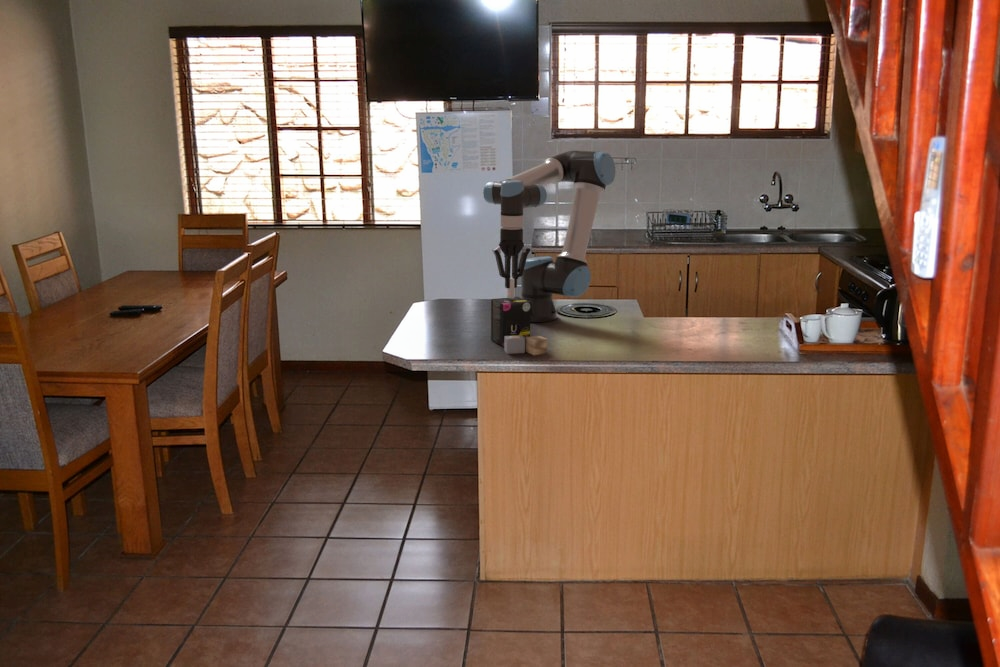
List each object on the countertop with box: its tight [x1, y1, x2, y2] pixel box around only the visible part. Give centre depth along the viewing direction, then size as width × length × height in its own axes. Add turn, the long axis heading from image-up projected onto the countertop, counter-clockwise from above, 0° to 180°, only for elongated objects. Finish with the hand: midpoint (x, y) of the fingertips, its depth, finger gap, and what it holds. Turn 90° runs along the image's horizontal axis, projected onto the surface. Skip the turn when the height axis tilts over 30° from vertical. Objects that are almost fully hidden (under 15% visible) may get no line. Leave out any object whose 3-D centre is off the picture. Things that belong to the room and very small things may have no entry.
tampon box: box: [490, 296, 531, 347], centre depth 304 cm, size 11×9×15 cm
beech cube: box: [525, 335, 548, 356], centre depth 292 cm, size 5×5×5 cm
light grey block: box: [503, 335, 526, 355], centre depth 293 cm, size 6×4×5 cm, turn 101°
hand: (510, 297), depth 301 cm, fingers closed
